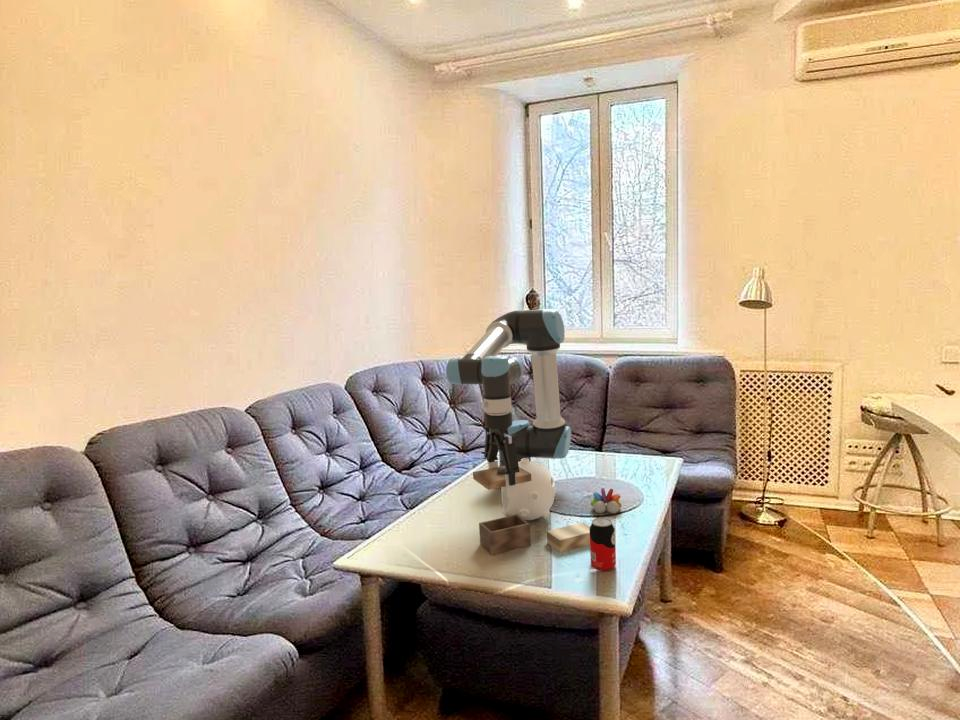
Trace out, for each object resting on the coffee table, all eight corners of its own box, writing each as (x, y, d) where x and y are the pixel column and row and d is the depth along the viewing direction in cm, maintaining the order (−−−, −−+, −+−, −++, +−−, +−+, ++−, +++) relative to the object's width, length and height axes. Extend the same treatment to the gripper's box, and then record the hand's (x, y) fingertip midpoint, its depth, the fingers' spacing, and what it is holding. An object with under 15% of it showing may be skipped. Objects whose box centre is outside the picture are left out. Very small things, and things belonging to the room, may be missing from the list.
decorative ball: (565, 528, 177) (562, 465, 175) (509, 535, 174) (505, 471, 172) (547, 505, 197) (544, 448, 194) (496, 511, 194) (493, 453, 192)
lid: (488, 489, 157) (487, 478, 157) (473, 478, 167) (472, 467, 167) (531, 480, 162) (530, 469, 162) (514, 470, 172) (513, 459, 172)
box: (491, 557, 161) (490, 533, 160) (480, 546, 168) (479, 522, 167) (530, 547, 165) (529, 523, 165) (518, 537, 173) (516, 514, 172)
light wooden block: (560, 554, 161) (559, 540, 160) (547, 544, 167) (546, 531, 166) (597, 544, 165) (596, 530, 165) (583, 535, 172) (582, 522, 171)
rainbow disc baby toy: (622, 515, 185) (621, 493, 184) (590, 514, 187) (589, 492, 186) (621, 505, 193) (620, 484, 192) (591, 504, 195) (590, 483, 194)
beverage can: (600, 574, 148) (598, 528, 147) (586, 564, 154) (584, 520, 152) (620, 568, 151) (619, 523, 149) (606, 558, 156) (604, 515, 155)
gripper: (469, 407, 171) (474, 480, 174) (503, 422, 150) (508, 505, 153) (493, 403, 174) (497, 475, 177) (529, 418, 153) (534, 499, 156)
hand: (502, 489), depth 165 cm, fingers closed on lid, 10 cm apart
